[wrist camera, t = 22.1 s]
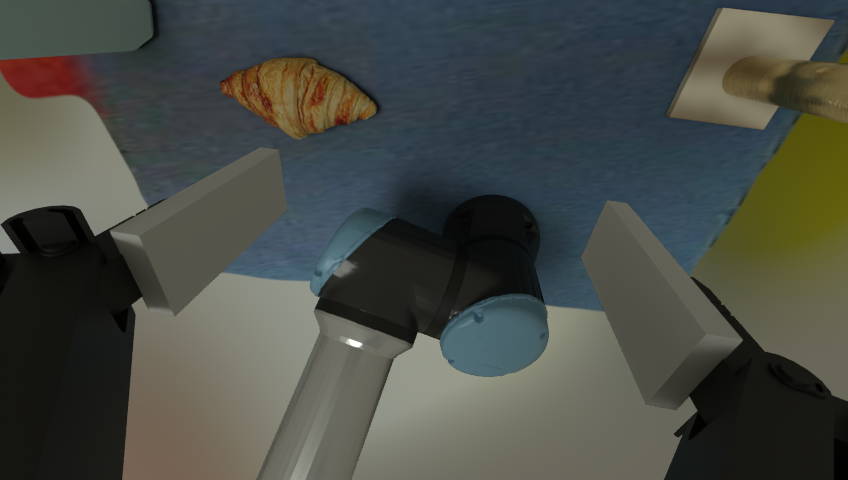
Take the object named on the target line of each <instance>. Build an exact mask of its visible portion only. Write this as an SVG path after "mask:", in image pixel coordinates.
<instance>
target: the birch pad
mask: <svg viewBox="0 0 848 480" xmlns="http://www.w3.org/2000/svg"><path fill="white" fill-rule="evenodd" d="M834 21H835V20H827V19H818V18H809V17H800V16H791V15H782V14H773V13H764V12H755V11H747V10H738V9H729V8H717V10H716V12H715V14H714V16H713V18H712V20H711V22H710V24H709V26H708V29H707V31H706V33H705V35H704V37H703V39H702V41H701V43H700V45H699V47H698V49H697V51H696V53H695V55H694V57H693V60H692V62H691V64H690V66H689V68H688V70H687V72H686V74H685V76H684V78H683V80H682V82H681V84H680V86H679V89H678V91H677V93H676V95H675V97H674V99H673V101H672V103H671V105H670V107H669V109H668V111H667V113H666V116H668V117H672V118H680V119H687V120H695V121H702V122H710V123H717V124H725V125H732V126H740V127H747V128H755V129H762V130H764V128H765V127H766V125H767V124H768V122H769V121H770V119H771V117H772V116H773V114H774V113H775V111H776V110H777V108H778V106H774V105H769V104H765V103H761V102H757V101H753V100H749V99H744V98H740V97H736V96H732V95H729V94H727V93H726V92H725V91H724V90H723V87H722V80H723V77H724V75H725V73H726V71H727V70H728V69H729V68H730V67H731V66H732V65H733V64H734V63H735V62H737V61H738V60H740V59H742V58H745V57H750V56H756V57H769V58H782V59H795V60H810V58H811V56H812V55H813V53H814V52H815V50H816V49H817V47H818V46H819V44H820V43H821V41H822V40H823V38H824V37H825V35H826V34H827V32H828V31H829V29H830V27H831V26H832V24H833V23H834Z"/></svg>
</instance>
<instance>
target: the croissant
mask: <svg viewBox="0 0 848 480" xmlns="http://www.w3.org/2000/svg"><path fill="white" fill-rule="evenodd" d="M220 87H221V91H222V93H223V94H225V95H226V96H227V97H231V98H235V99H237V100H238V102H239V103H240V104H241V105H242V106H244V107H246V108H248V109H249V111H252V112H254V113H256V114H257V115H259V116H261V117H263V118H264V121H266V122H267V123H269V124H270V125H271V126H274V127H278V128H280V129H281V130H283V131H284V132H285V133H286V134H288V135H289V136H291V137H293V138H295V139H302V138H304V137H307V136H308V135H310V134H311V133H323V132H324V131H325V130H326V129H328V128H330V127H333V126H335V125H347V124H350V123H351V122H353V121H356V120H357V119H358V118H360V119H368V118H369V117H371V116H373V115H375V114H376V111H377V107H376V105H375V104H374V102H373V101H372V100H370V98H369V97H368V96H367V95H365V94H364V93H362V92H361V91H360V90H359V89H358V88H357V87H356V86H355V85H354V84H353V83H351V82H349V81H348V80H347V79H346V78H345V77H343V76H341V75H340V74H338V73H337V72H335V71H331V70H329V69H327V68H325V67H323V66H320V65H318V62H317V61H316V60H314V59H311V58H275V59H271V60H268V61H265V62H263V63H262V64H259V65H256V66H253V67H251V68H249V69H248V70H247V71H243V70H240V71H236V72H234V73H233V74H232V75H231V76H230V77H227V78H226V80H222V81H221V82H220Z"/></svg>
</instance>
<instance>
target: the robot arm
mask: <svg viewBox="0 0 848 480" xmlns="http://www.w3.org/2000/svg"><path fill="white" fill-rule="evenodd" d="M286 210H287V207H286V199H285V192H284V185H283V178H282V171H281V164H280V157H279V150H275V149H268V148H262V147H260V148H258V149H257V150H255V151H253V152H251V153H249V154H248V155H246V156H244V157H242V158H240V159H239V160H237V161H235V162H233V163H231V164H229V165H228V166H226V167H224V168H222V169H220V170H219V171H217V172H215V173H213V174H211V175H209V176H208V177H206V178H204V179H202V180H200V181H199V182H197V183H195V184H193V185H191V186H190V187H188V188H186V189H184V190H182V191H180V192H179V193H177V194H175V195H173V196H171V197H170V198H167V199H163V200H161V201H159V202H157V203H155V204H153V205H152V206H150V207H148V208H147V210H145V209H144V210H142V211H141V212H139V213H137V214H136V216H132V217H130V218H128V219H126V220H124V221H122V222H121V223H119V224H117V225H115V226H114V227H111V228H109V229H108V230H106V231H104V232H102V233H100V234H99V235H97V236H94V234H93V232H92V230H91V229H90V227H89V225H88V223H87V221H86V219H85V217H84V215H83V213H82V212H81V210H80V209H78V208H76V207H73V206H64V205H63V206H48V207H43V208H37V209H33V210H29V211H26V212H23V213H19V214H17V215H15V216H13V217H11V218H9V219H7V220H6V221H4V222H3V223H2V224H1V226H2V227H3V229H4V230H5V232H6V233H7V235H8V236H9V237H10V239H11V240H12V242H13V243H14V245H15V246H16V247H17V249H18V250H19V252H20V253H15V254H2V253H1V252H0V480H122V474H123V462H124V450H125V438H126V425H127V413H128V401H129V389H130V376H131V364H132V352H133V340H134V339H133V338H134V326H135V312H134V310H133V308H132V306H131V305H132V304H133V303H134V302H136V301H137V300H138V299H139V298H141V297H143V300H144V302H145V304H146V306H147V308H148V310H149V312H152V313H157V314H163V315H168V316H173V317H175V316H176V315H177V314H178V313H179V312H180V311H181V310H182V309H183V308H184V307H185V306H187V305H188V304H189V303H190V302H191V301H192V300H193V299H194V298H195V297H196V296H197V295H198V294H199V293H200V292H201V291H202V290H203V289H204V288H205V287H206V286H207V285H208V284H210V283H211V282H212V281H213V280H214V279H215V278H216V277H217V276H218V275H219V274H220V273H221V272H222V271H223V270H224V269H225V268H226V267H227V266H228V265H230V264H231V263H232V262H233V261H234V260H235V259H236V258H237V257H238V256H239V255H240V254H241V253H242V252H243V251H244V250H245V249H246V248H247V247H248V246H249V245H250V244H252V243H253V242H254V241H255V240H256V239H257V238H258V237H259V236H260V235H261V234H262V233H263V232H264V231H265V230H266V229H267V228H268V227H269V226H270V225H271V224H273V223H274V222H275V221H276V220H277V219H278V218H279V217H280V216H281V215H282V214H283V213H284V212H285V211H286ZM539 245H540V235H539V231H538V227H537V224H536V221H535V219H534V217H533V215H532V214H531V213H530V211H529V210H528V209H527V208H526V207H525V206H523V205H522V204H521V203H519V202H517V201H515V200H513V199H511V198H508V197H504V196H498V195H486V196H480V197H476V198H473V199H470V200H468V201H466V202H464V203H463V204H461V205H460V206H458V207H457V208H456V209H455V210H454V211H453V212H452V213H451V215H450V216H449V218H448V220H447V222H446V224H445V227H444V233H443V236H441V235H439V234H436V233H434V232H431V231H429V230H426V229H423V228H421V227H419V226H416V225H414V224H411V223H409V222H407V221H404V220H402V219H400V218H399V217H398V216H396V215H392V216H391V215H388V214H385V213H382V212H379V211H376V210H374V209H370V208H363V209H359V210H357V211H355V212H354V213H353V214H352V215H350V216H349V217H348V218H347V219H346V220H345V221H344V223H343V224H342V225H341V226H340V228H339V229H338V230H337V232H336V233H335V235H334V236H333V238H332V239H331V241H330V242H329V244H328V245H327V247H326V249H325V251H324V252H323V254H322V256H321V258H320V260H319V262H318V265H317V266H318V267H317V268H316V270H315V272H314V274H313V276H312V278H311V282H310V289H311V291H312V292H313V293H314V294H315V296H318V297H320V299H319V301H318V303H317V305H316V307H315V310H314V314H315V316H316V319H317V321H318V324H319V326H320V333H319V336H318V338H317V340H316V343H315V345H314V347H313V350H312V352H311V354H310V357H309V359H308V361H307V364H306V366H305V368H304V371H303V373H302V375H301V377H300V380H299V382H298V384H297V387H296V389H295V391H294V394H293V396H292V398H291V401H290V403H289V405H288V408H287V410H286V412H285V414H284V417H283V419H282V421H281V424H280V426H279V428H278V431H277V433H276V435H275V438H274V440H273V442H272V445H271V447H270V449H269V451H268V454H267V456H266V458H265V461H264V463H263V465H262V468H261V470H260V472H259V475H258V477H257V479H256V480H351V479H352V476H353V473H354V470H355V468H356V465H357V462H358V459H359V456H360V453H361V451H362V448H363V445H364V442H365V439H366V436H367V434H368V431H369V428H370V425H371V422H372V419H373V417H374V414H375V411H376V408H377V405H378V402H379V400H380V397H381V394H382V391H383V388H384V385H385V383H386V380H387V377H388V374H389V371H390V368H391V365H392V362H393V360H394V358H396V357H397V356H398V355H399V354H401V353H403V352H405V351H407V350H409V349H411V348H412V346H413V344H414V341H415V338H416V335H417V333H418V332H420V333H423V334H425V335H428V336H430V337H433V338H436V339H438V340H440V346H441V350H442V353H443V356H444V357H445V358H446V359H448V362H449V364H450V365H451V366H453V367H454V368H456V369H457V370H460V371H461V372H464V373H467V374H470V375H475V376H483V377H494V376H502V375H505V374H508V373H514V372H517V371H519V370H521V369H524V368H526V367H527V366H529V365H531V364H532V363H533V362H534V361H536V360H537V359H538V358H539V357H540V355H541V354H542V353H543V351H544V350H545V348H546V346H547V342H548V338H549V331H548V324H547V310H546V307H545V304H544V300H543V296H542V292H541V289H540V285H539V281H538V277H537V273H536V270H535V266H534V263H535V260H536V257H537V254H538V250H539ZM581 259H582V262H583V264H584V266H585V268H586V271H587V273H588V275H589V277H590V280H591V282H592V284H593V286H594V289H595V291H596V293H597V295H598V298H599V300H600V302H601V304H602V307H603V309H604V311H605V313H606V315H607V318H608V320H609V322H610V324H611V327H612V329H613V331H614V333H615V336H616V338H617V340H618V342H619V345H620V347H621V349H622V352H623V354H624V356H625V358H626V361H627V363H628V365H629V367H630V370H631V372H632V374H633V376H634V379H635V381H636V383H637V385H638V388H639V390H640V392H641V394H642V397H643V399H644V401H645V403H646V405H652V406H657V407H662V408H668V409H673V410H677V409H678V408H679V407H680V406H681V404H682V403H683V402H684V401H685V400H686V399H687V398H688V397H689V396H690V398H691V400H692V401H693V403H694V405H695V407H696V408H697V410H698V411H697V412H696V413H695V414H694V415H693V416H692V417H691V418H690V419H689V420H688V421H687V422H685V424H684V425H682V426H681V427H680V428H679V429H678V430H677V431H676V432H675V433H674V435H675V436H677V437H679V436H681V435H682V434H683V435H682V438H681V440H680V443H679V445H678V447H677V450H676V452H675V455H674V457H673V459H672V462H671V464H670V467H669V469H668V471H667V474H666V476H665V479H664V480H848V401H845V400H843V399H840V398H838V397H835V396H832V394H831V392H830V390H829V389H828V388H827V387H826V386H825V385H824V383H823V382H822V381H821V380H820V379H818V378H817V377H816V376H815V375H813V374H812V373H811V372H810V371H808V370H807V369H805V368H804V367H802V366H800V365H799V364H797V363H795V362H794V361H791V360H789V359H787V358H785V357H782V356H780V355H777V354H773V353H769V352H765V351H764V350H763V349H762V348H761V347H760V346H759V345H758V343H757V342H756V341H755V340H754V339H753V338H752V337H751V335H750V334H748V332H747V331H746V330H745V329H744V328H743V326H742V325H741V324H740V323H739V322H738V321H737V320H736V318H735V317H734V316H731V315H730V314H731V313H730V312H729V311H728V310H727V309H726V307H725V306H724V305H721V301H720V300H718V299H717V297H716V296H715V295H714V294H713V292H712V291H711V290H710V289H709V288H707V287H706V286H704V285H703V284H701V283H700V282H699V281H697V280H696V279H695V278H693V277H689V276H688V274H687V273H686V272H685V271H684V270H683V268H682V267H681V266H680V265H679V264H678V263H677V261H676V260H675V259H674V258H673V257H672V256H671V254H670V253H669V252H668V251H667V250H666V248H665V247H664V246H663V245H662V244H661V243H660V241H659V240H658V239H657V238H656V237H655V235H654V234H653V233H652V232H651V231H650V230H649V228H648V227H647V226H646V225H645V224H644V222H643V221H642V220H641V219H640V218H639V217H638V215H637V214H636V213H635V212H634V211H633V209H632V208H631V207H630V206H629V205H628V204H627V203H622V202H615V201H609V200H607V201H606V204H605V206H604V208H603V210H602V212H601V214H600V217H599V219H598V221H597V223H596V225H595V228H594V230H593V232H592V234H591V236H590V239H589V241H588V243H587V245H586V247H585V250H584V252H583V254H582V256H581Z"/></svg>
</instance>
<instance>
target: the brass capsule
mask: <svg viewBox="0 0 848 480" xmlns="http://www.w3.org/2000/svg"><path fill="white" fill-rule="evenodd" d="M722 87H723V90H724V91H725V92H726V93H727V94H729V95H732V96H736V97H740V98H744V99H749V100H753V101H757V102H761V103H765V104H769V105H774V106H778V107H782V108H786V109H790V110H795V111H799V112H803V113H807V114H811V115H815V116H820V117H824V118H828V119H832V120H836V121H841V122H845V123H848V64H847V63H835V62H822V61H809V60H795V59H782V58H769V57H756V56H750V57H745V58H742V59H740V60H738V61H737V62H735V63H734V64H733V65H732V66H731V67H730V68H729V69H728V70H727V71H726V73H725V75H724V77H723V80H722Z"/></svg>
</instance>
